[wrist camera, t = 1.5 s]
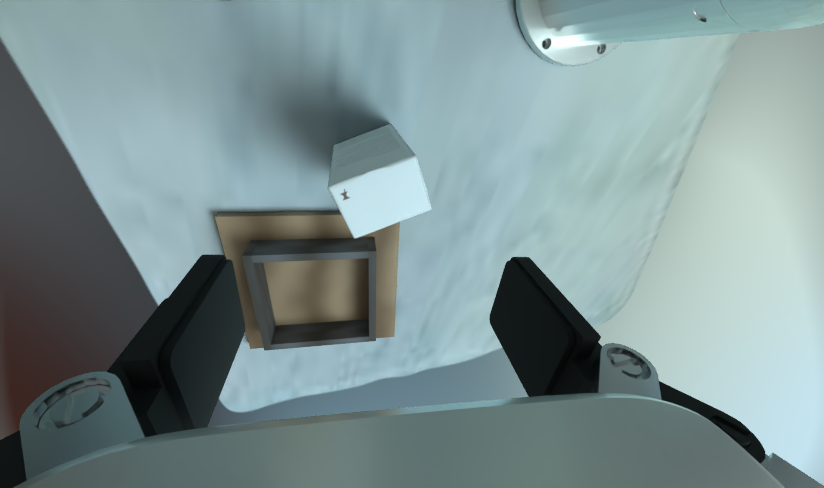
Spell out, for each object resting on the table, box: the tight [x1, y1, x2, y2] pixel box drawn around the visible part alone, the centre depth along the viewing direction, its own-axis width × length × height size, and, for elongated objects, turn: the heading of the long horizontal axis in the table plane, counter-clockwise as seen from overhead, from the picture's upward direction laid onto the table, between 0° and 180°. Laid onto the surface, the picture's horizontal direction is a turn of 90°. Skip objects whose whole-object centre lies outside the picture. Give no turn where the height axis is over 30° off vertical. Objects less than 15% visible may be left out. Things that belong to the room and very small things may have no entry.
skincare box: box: [328, 124, 432, 238], centre depth 26 cm, size 6×4×12 cm
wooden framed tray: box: [215, 211, 400, 350], centre depth 35 cm, size 18×18×4 cm
